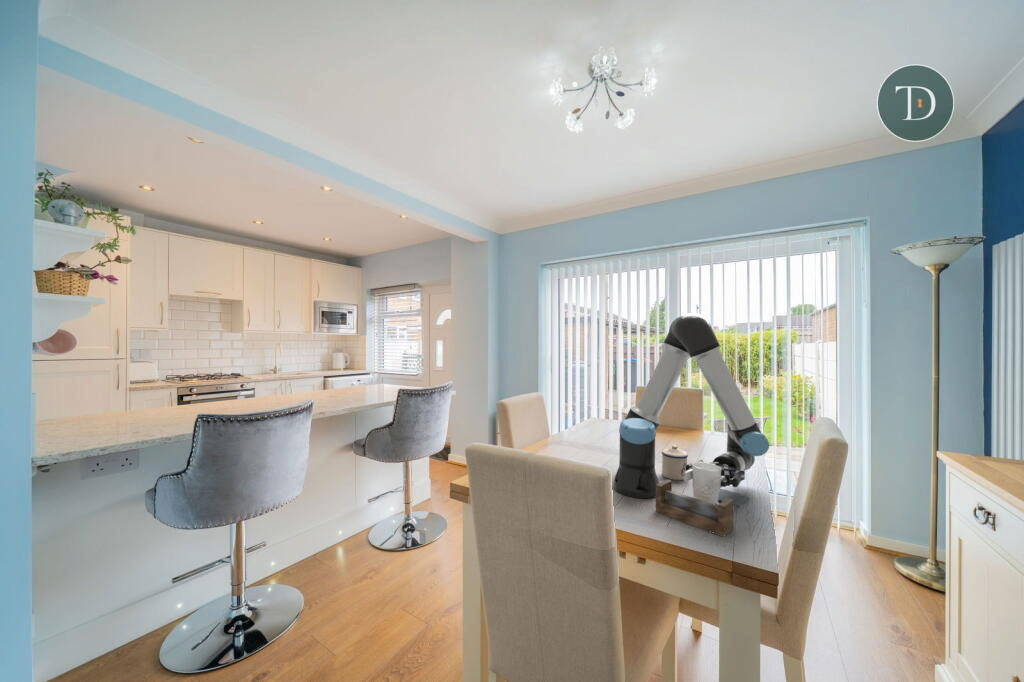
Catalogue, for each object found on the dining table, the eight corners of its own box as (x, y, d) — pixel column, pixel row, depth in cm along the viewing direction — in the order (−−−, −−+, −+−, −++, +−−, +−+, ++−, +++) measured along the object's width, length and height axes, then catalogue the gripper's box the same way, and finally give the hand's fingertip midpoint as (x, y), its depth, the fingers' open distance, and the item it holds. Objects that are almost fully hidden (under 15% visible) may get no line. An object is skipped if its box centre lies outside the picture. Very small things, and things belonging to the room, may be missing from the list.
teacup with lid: (686, 482, 136) (687, 450, 136) (660, 477, 140) (660, 447, 140) (688, 472, 147) (688, 442, 147) (663, 468, 151) (664, 439, 151)
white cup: (708, 506, 108) (709, 472, 108) (685, 495, 116) (686, 463, 116) (726, 502, 112) (727, 469, 112) (703, 492, 119) (704, 460, 119)
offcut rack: (655, 511, 113) (655, 484, 113) (666, 504, 118) (667, 479, 118) (723, 536, 99) (724, 506, 99) (733, 528, 103) (733, 499, 103)
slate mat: (699, 495, 125) (699, 493, 125) (711, 487, 132) (711, 485, 132) (739, 507, 116) (739, 505, 116) (749, 498, 123) (749, 497, 123)
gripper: (763, 486, 118) (737, 506, 103) (696, 467, 133) (665, 483, 118) (764, 462, 118) (738, 479, 103) (697, 446, 133) (666, 459, 118)
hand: (699, 481), depth 110 cm, fingers closed on white cup, 8 cm apart
